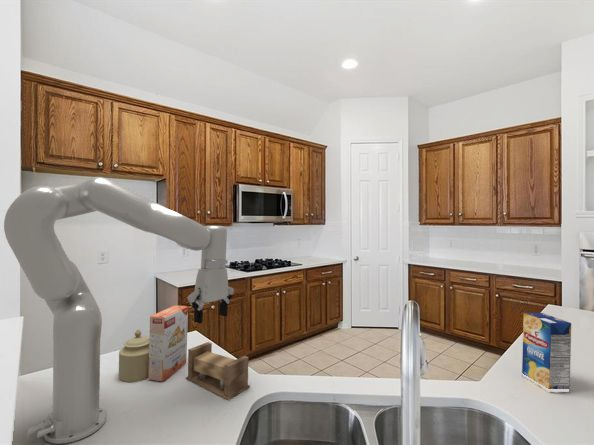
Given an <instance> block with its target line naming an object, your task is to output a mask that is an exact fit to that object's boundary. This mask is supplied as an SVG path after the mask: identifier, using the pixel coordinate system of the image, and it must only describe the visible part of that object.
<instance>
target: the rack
mask: <svg viewBox="0 0 594 445" xmlns="http://www.w3.org/2000/svg"><path fill="white" fill-rule="evenodd" d="M212 345H213V343H212V342H209V341H207V342H205V343H202V344H199V345H197V346H194V347H191V348H187V350H188V351H187V352H188V353H187V355H188V357H187V376H186V377H185V379H186V380H187V381H189V382H191V383H192V384H195V385H196V386H199V387H200V388H202V389H204V390H206V391H208V392H210V393H212V394H213V395H216V396H218V397H220V398H222V399H223V400H225V401H230V400H231V399H232V398H235V397H237V396H238V395H239V394H241V393H243V392H244V391H247V390H248V389H250V385H249V356H246V355H243V356H241V357H239V358H237V359H235V360H234V361H232V362H230V363H228V364H226V365H225V372H224V381H223V380H220V379H217V378H214V377H211V376H208V375H205V374H203V373H200V372H197V371H194V358H195V357H197V356H199V355H201V354H203V353H205V352H207V351H208V352H212V351H213V350H212V348H213V347H212ZM212 353H213V352H212Z"/></svg>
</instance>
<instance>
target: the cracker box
mask: <svg viewBox="0 0 594 445" xmlns="http://www.w3.org/2000/svg"><path fill="white" fill-rule="evenodd" d="M188 317H189V306H187V305H177V304H176V305H172V306H170V307H168V308H166V309H163V310H160V311H159V312H157V313H155V314H152V315H150V316H149V336H148V338H149V368H148V378H147V379H148V380H149V381H157V382H161V383H162V382H165V380H167V379H168V378H169V377H170V376H172V375H173V374H174V373H176V372H177V371H178V370H179V369H181V368H182V367H183V366H185V365H186V364H187V358H188V357H187V355H188V353H187V352H188V351H187V350H188V348H187V347H188V325H189V324H188V322H189V318H188Z"/></svg>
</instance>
